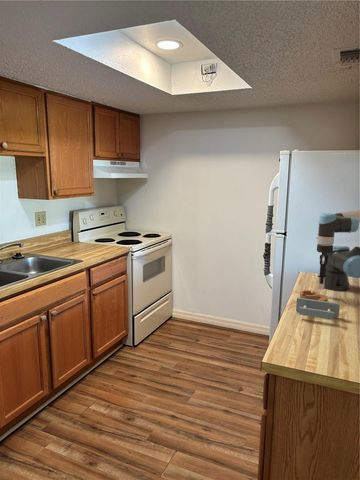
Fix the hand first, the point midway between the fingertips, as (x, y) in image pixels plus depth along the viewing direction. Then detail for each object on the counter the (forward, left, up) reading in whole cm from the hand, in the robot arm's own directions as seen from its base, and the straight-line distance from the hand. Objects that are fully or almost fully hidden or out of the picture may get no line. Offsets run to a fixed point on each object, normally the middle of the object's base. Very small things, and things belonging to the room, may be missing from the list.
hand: (321, 289), depth 186 cm
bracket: (+13, +4, -4) cm, 14 cm away
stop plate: (+27, +13, -3) cm, 31 cm away
